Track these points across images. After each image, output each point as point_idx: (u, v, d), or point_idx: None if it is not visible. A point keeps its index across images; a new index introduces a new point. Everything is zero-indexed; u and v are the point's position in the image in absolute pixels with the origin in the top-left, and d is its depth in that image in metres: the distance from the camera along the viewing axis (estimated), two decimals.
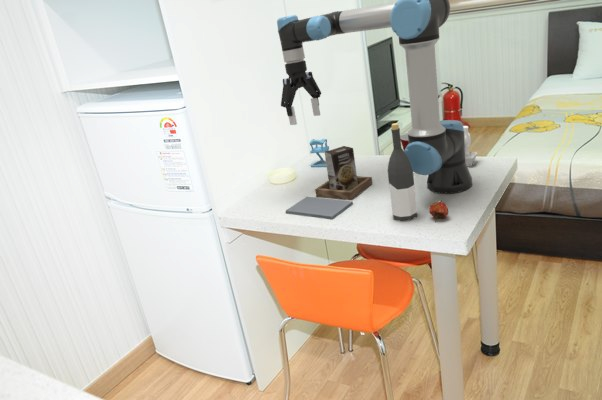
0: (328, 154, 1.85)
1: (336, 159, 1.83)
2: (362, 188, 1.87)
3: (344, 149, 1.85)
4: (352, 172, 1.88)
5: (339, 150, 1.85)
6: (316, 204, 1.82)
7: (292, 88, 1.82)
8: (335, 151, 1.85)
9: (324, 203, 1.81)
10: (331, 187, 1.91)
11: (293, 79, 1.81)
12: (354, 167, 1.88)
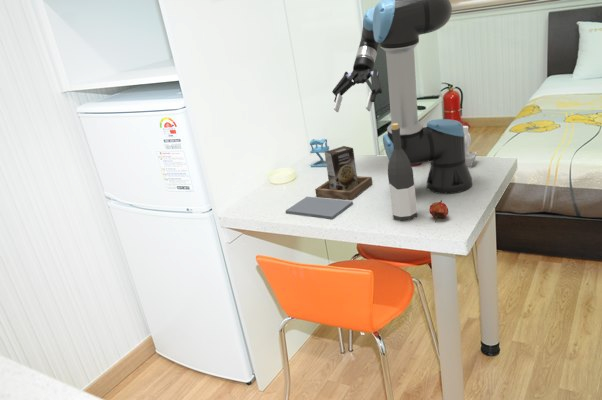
0: (328, 154, 1.85)
1: (336, 159, 1.83)
2: (362, 188, 1.87)
3: (344, 149, 1.85)
4: (352, 172, 1.88)
5: (339, 150, 1.85)
6: (316, 204, 1.82)
7: None
8: (335, 151, 1.85)
9: (324, 203, 1.81)
10: (331, 187, 1.91)
11: (351, 73, 1.97)
12: (354, 167, 1.88)
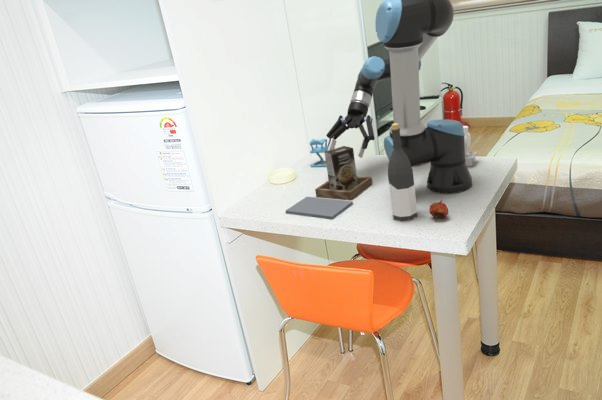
0: (328, 154, 1.85)
1: (336, 159, 1.83)
2: (362, 188, 1.87)
3: (344, 149, 1.85)
4: (352, 172, 1.88)
5: (339, 150, 1.85)
6: (316, 204, 1.82)
7: None
8: (335, 151, 1.85)
9: (324, 203, 1.81)
10: (331, 187, 1.91)
11: (346, 117, 1.97)
12: (354, 167, 1.88)
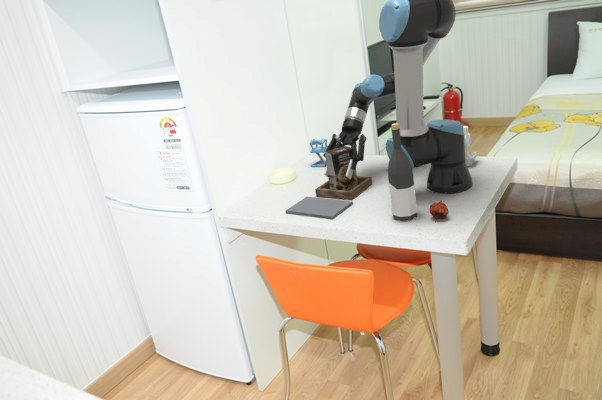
0: (328, 154, 1.85)
1: (336, 159, 1.83)
2: (362, 188, 1.87)
3: (344, 149, 1.85)
4: (353, 172, 1.88)
5: (339, 150, 1.85)
6: (316, 204, 1.82)
7: None
8: (335, 151, 1.85)
9: (324, 203, 1.81)
10: (331, 187, 1.91)
11: (340, 134, 1.93)
12: None
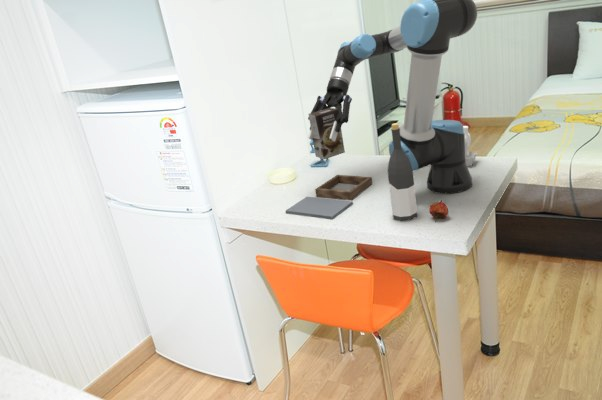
0: (312, 116, 1.77)
1: (321, 120, 1.76)
2: (362, 188, 1.87)
3: (329, 110, 1.78)
4: (338, 135, 1.81)
5: (324, 111, 1.77)
6: (316, 204, 1.82)
7: None
8: (319, 112, 1.77)
9: (324, 203, 1.81)
10: (316, 151, 1.83)
11: (325, 96, 1.85)
12: None
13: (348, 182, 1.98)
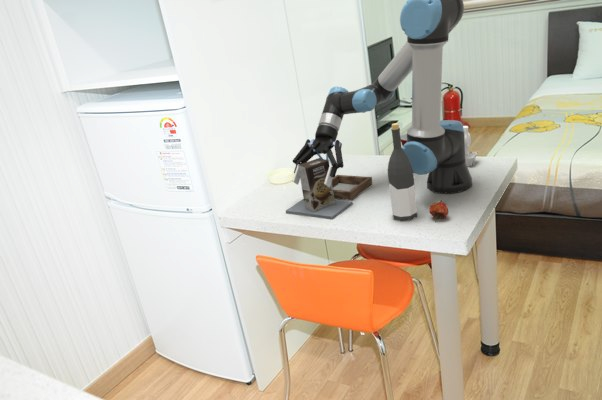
0: (302, 167, 1.72)
1: (311, 172, 1.70)
2: (362, 188, 1.87)
3: (319, 162, 1.73)
4: None
5: (314, 163, 1.72)
6: None
7: None
8: (309, 164, 1.72)
9: None
10: (306, 202, 1.78)
11: (313, 141, 1.80)
12: None
13: (348, 182, 1.98)
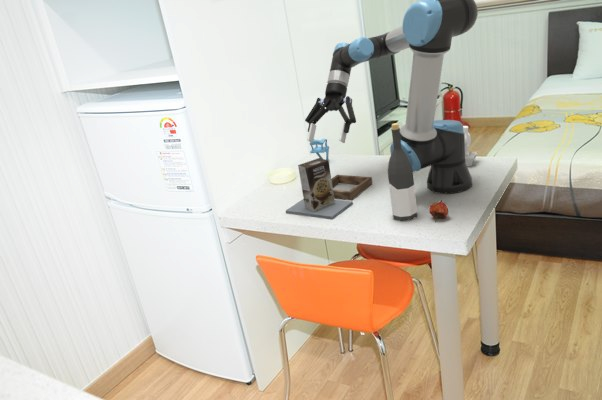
0: (302, 167, 1.72)
1: (311, 172, 1.70)
2: (362, 188, 1.87)
3: (319, 162, 1.73)
4: (329, 186, 1.76)
5: (314, 163, 1.72)
6: None
7: None
8: (309, 164, 1.72)
9: None
10: (306, 202, 1.78)
11: (324, 99, 1.85)
12: (329, 180, 1.75)
13: (348, 182, 1.98)
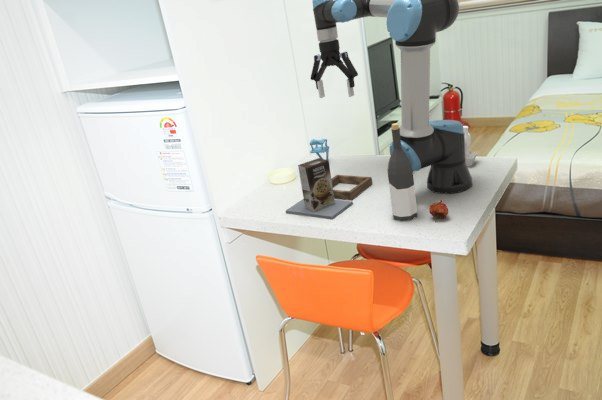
0: (302, 167, 1.72)
1: (311, 172, 1.70)
2: (362, 188, 1.87)
3: (319, 162, 1.73)
4: (329, 186, 1.76)
5: (314, 163, 1.72)
6: None
7: None
8: (309, 164, 1.72)
9: None
10: (306, 202, 1.78)
11: (321, 57, 1.94)
12: (329, 180, 1.75)
13: (348, 182, 1.98)
